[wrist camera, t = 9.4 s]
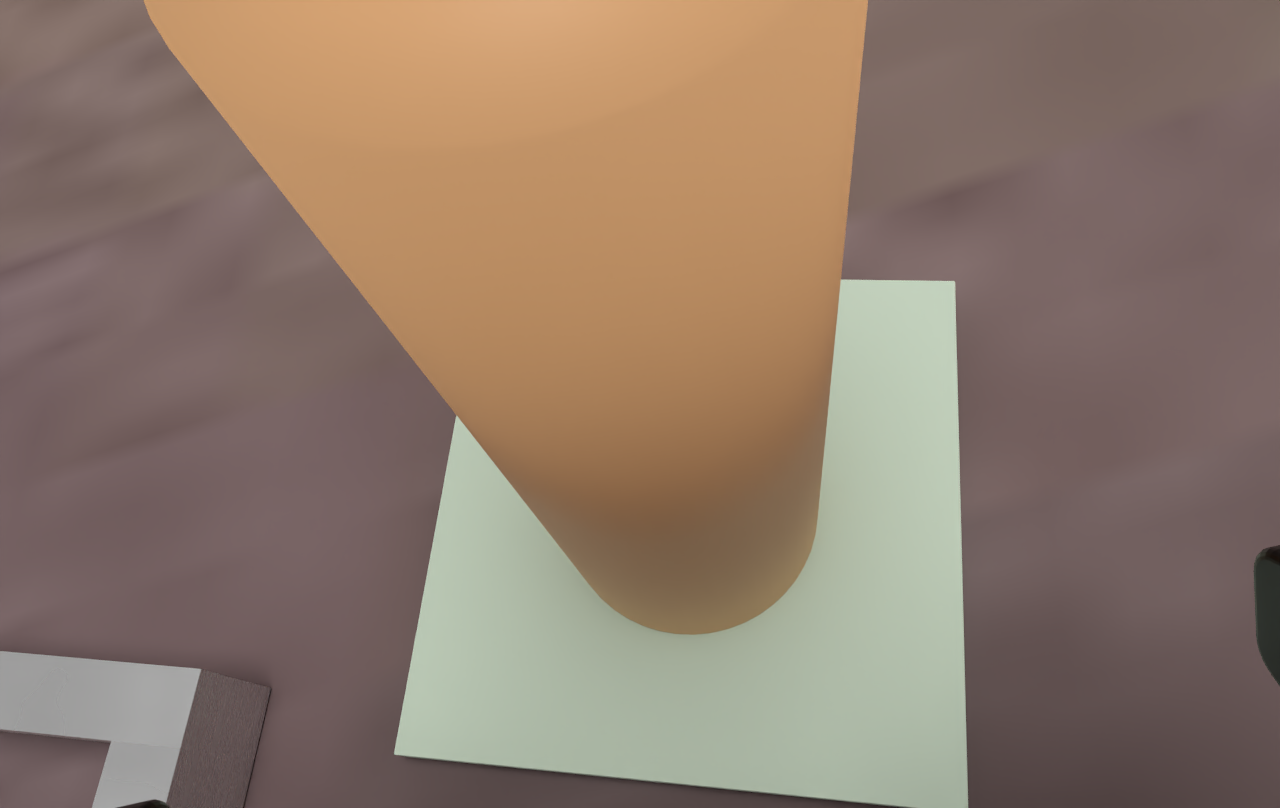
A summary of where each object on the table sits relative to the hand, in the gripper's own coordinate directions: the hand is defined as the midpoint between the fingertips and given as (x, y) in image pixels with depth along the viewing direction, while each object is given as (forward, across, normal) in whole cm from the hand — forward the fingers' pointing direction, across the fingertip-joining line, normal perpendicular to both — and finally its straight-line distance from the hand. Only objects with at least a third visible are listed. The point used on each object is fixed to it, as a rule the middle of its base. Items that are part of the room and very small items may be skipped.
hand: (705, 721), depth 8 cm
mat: (+11, 0, +4) cm, 12 cm away
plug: (+10, 0, +3) cm, 11 cm away
